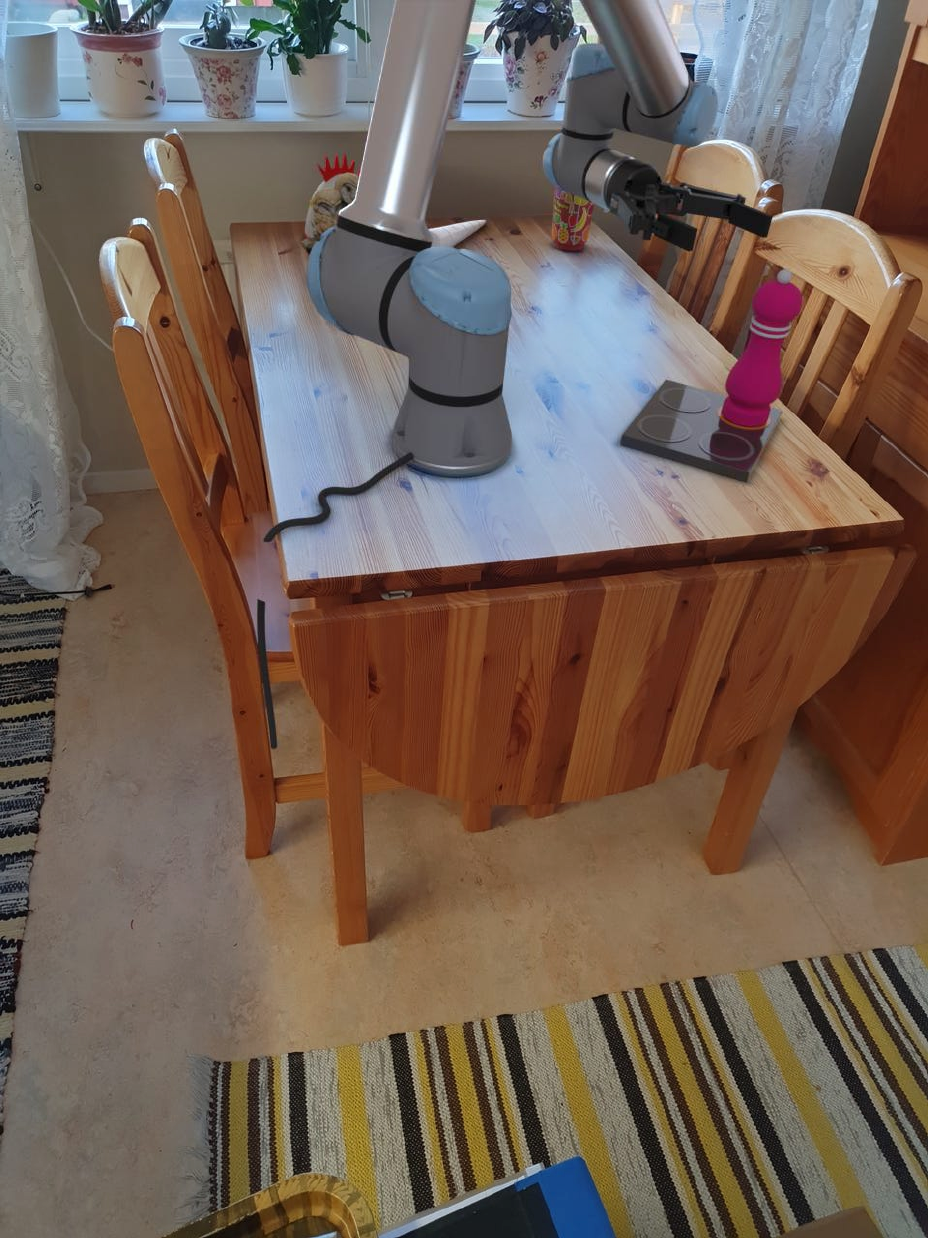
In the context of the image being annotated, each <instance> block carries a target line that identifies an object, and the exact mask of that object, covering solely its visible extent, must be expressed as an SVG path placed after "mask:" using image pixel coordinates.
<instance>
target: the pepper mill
mask: <svg viewBox="0 0 928 1238" xmlns="http://www.w3.org/2000/svg"><path fill="white" fill-rule="evenodd" d="M792 279H793V272H792V270H790V269H788V268H784V269H781V270H780V271H779V272H778V273H777V276H776V279H774V280H768V281H766V282H763V284H761V285H760V286H759V287H758V288H757V289H756V291H755V292H754V295H753V297H752V302H751V307H752V311H753V313H754V315H753V316H752V317H751V323H750V324H749V329H750V331H751V332H750V337H749V340H748V342H747V346H746V348H745V350H744V351H743V353H742V354H741V356H740V357H739V358H738V360H737V361H736V362H735V363H734V365H733V366H732V367H731V369H730V370H729V372H728V374H727V376H726V380H725V384H724V389H725V391H726V394H727V396H728V397H727V398H725V400H724V404H723V408H722V414H723V416H724V417H725V418H726V419H728V420H729V421H731V422H733V423H735V424H738V425H742V426H750V427H754V426H760V425H763V424H765V423H766V422H767V420H768V418H769V414H770V411H771V408H772V407H771V405H772V404H773V403H775V401H777V400H778V398H779V396H780V395H781V391H782V385H783V376H782V375H783V374H782V369H781V352H782V351H781V350H782V345H783V342H784V341H785V338H786V337H789V335H790V329H792V322H791V321H793V320H794V319H796V318H797V317H798V315H799V314H800V312H801V309H802V306H803V295H802V291H801V290H800V288H799V287H798V286H796V284H794V283H793V282H791V281H792Z"/></svg>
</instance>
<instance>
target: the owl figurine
mask: <svg viewBox="0 0 928 1238" xmlns="http://www.w3.org/2000/svg"><path fill="white" fill-rule="evenodd" d="M356 174H357V173H354V174H353V173H348V172H347V173H345V174H343V175H341V176H340V177H339V178H337V179H336V181H335V186H334V190H333V189H331V188H325V189H322V190H320V191H318V192H317V193H316V194H315V197H314V199H313V210H314V213H313V214H314V216H313V218H312V219H311V223H312V227H313V238H310V237H307V239H305V238H304V239H303V240H301V241H300V243H301V246H302V247H303V249H304V250H305V252H306V253H307V254H308V255H310V253H311V251H312V248H313V246H314V244H315V243H316V242H319V241H320V240H321V239H320V236H321V235H322V234H323V233H324V232H325V231H326V230H328V229H330V228H334V227H336V225H337V220H338V215H339V212H340V211H341V210H342V209H344V208H345V207H347V206H348V205H350V204H351V203H352V202H353V201H354V200H355V197H356V192H357V187H358V182H359V176H358V175H356Z"/></svg>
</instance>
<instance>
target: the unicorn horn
mask: <svg viewBox="0 0 928 1238" xmlns="http://www.w3.org/2000/svg"><path fill="white" fill-rule="evenodd" d="M486 223H487V220H486V219H479V220H478V219H477V220H469V221H464V222H459V223H454V224H448V225H443V226H438V227H434V228H428V230H429V232H430V233H431V235H432V237H433V242H432V246H431V247H441V246H446V247H455V246H456V245H458V244H460V243H461V242H463V241H464V240H465V239H468V237H470V236H472V235H473V234H474V233H476V232H477V231H478V230H479V229H481V228H482V227H483V226H484V225H485V224H486Z"/></svg>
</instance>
